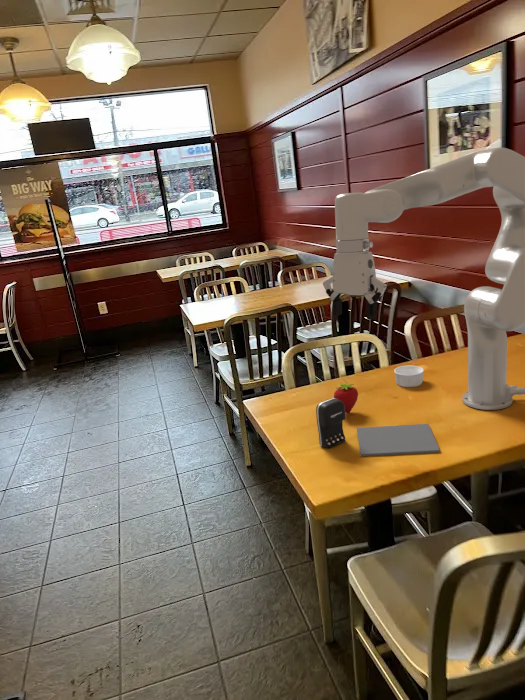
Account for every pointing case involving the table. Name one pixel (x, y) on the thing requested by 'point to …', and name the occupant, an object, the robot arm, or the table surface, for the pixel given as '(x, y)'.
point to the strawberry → (347, 396)
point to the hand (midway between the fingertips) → (354, 317)
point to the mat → (396, 440)
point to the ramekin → (409, 376)
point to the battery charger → (330, 422)
